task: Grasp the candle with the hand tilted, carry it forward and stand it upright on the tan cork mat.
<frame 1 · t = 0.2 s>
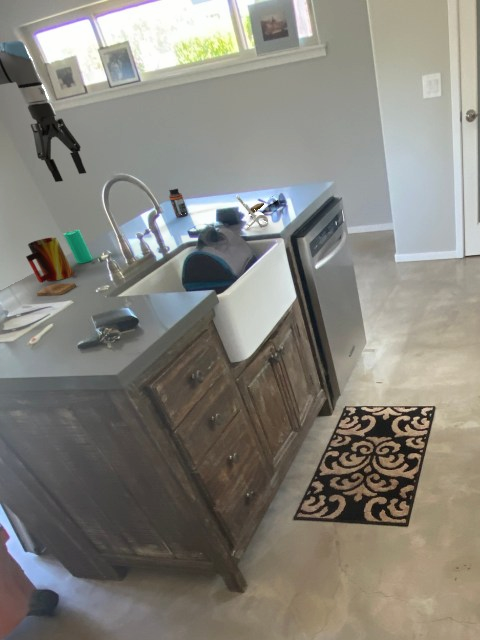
hand: (71, 177, 187), 27 cm above the worktop, tool pointing down, fingers open, 13 cm apart
mug: (59, 278, 190), on the worktop
plastic part: (256, 226, 215), on the worktop
supplement bottle: (182, 216, 249), on the worktop
cork mat: (57, 290, 178), on the worktop
tap handle: (265, 209, 238), on the worktop
candle: (85, 261, 205), on the worktop
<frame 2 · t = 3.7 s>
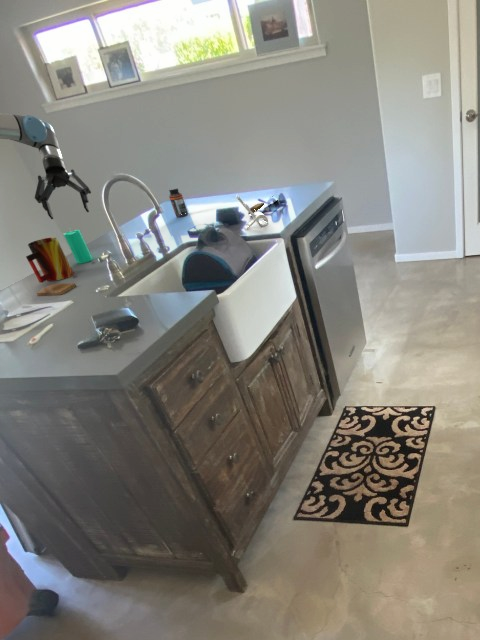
hand: (68, 213, 202), 15 cm above the worktop, tool tilted 45°, fingers open, 13 cm apart
nothing on the worktop moved.
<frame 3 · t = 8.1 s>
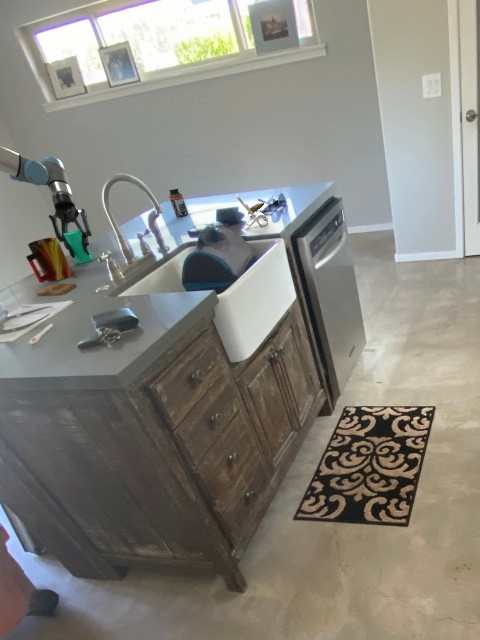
hand: (79, 254, 200), 3 cm above the worktop, tool tilted 45°, fingers closed on candle, 5 cm apart
candle: (85, 261, 205), on the worktop, touching gripper
everything else where it was.
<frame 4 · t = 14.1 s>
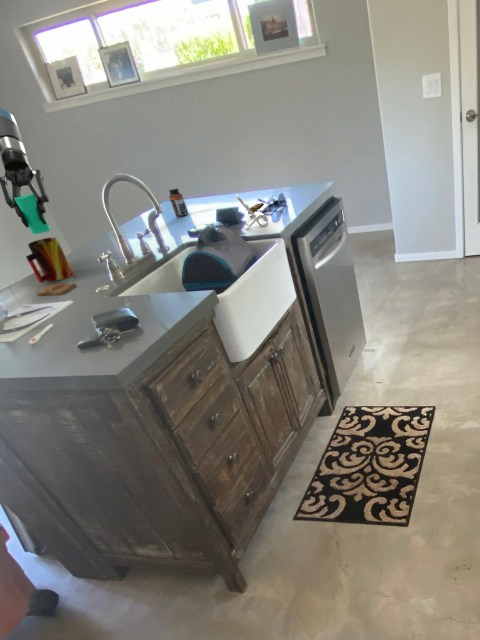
hand: (34, 222, 170), 20 cm above the worktop, tool tilted 45°, fingers closed on candle, 5 cm apart
candle: (42, 232, 175), point 16 cm above the worktop, touching gripper
everything else where it was.
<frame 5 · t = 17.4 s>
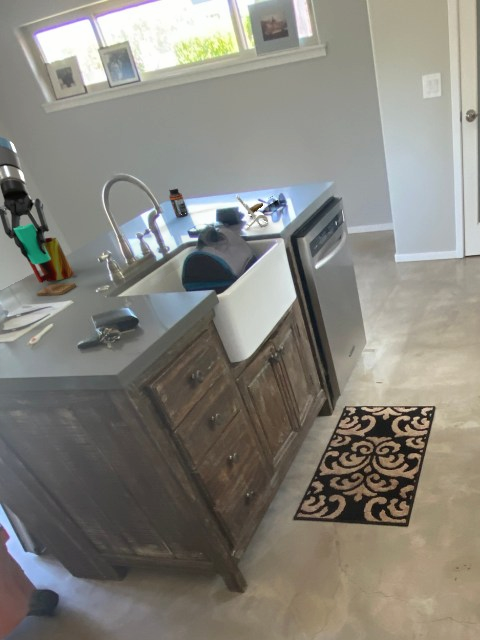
hand: (34, 253, 166), 13 cm above the worktop, tool tilted 45°, fingers closed on candle, 5 cm apart
candle: (41, 261, 172), point 10 cm above the worktop, touching gripper
everything else where it was.
when the fingers open (4 cm above the worktop, at t = 20.1 s): candle stays where it is, resting on cork mat.
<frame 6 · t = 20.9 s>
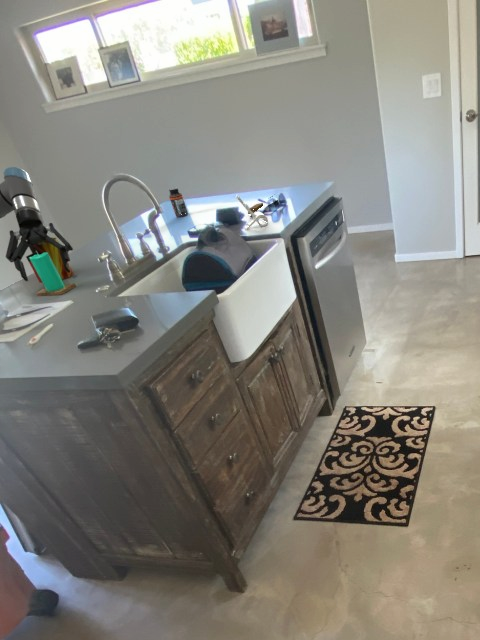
hand: (46, 274, 172), 6 cm above the worktop, tool tilted 45°, fingers open, 13 cm apart
candle: (56, 288, 177), point 1 cm above the worktop, touching cork mat
everything else where it was.
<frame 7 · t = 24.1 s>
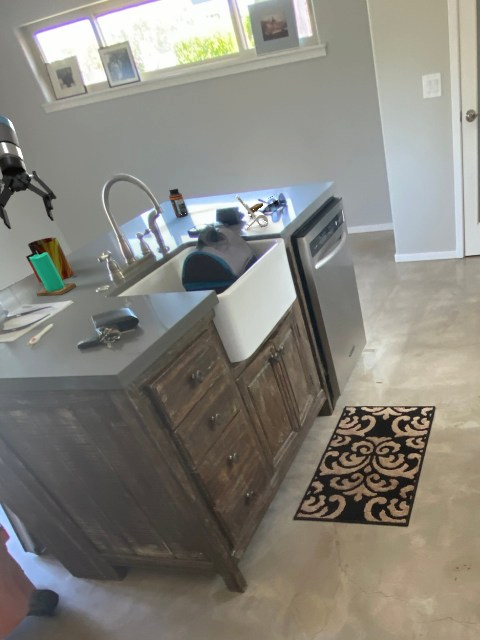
hand: (29, 222, 172), 20 cm above the worktop, tool tilted 45°, fingers open, 13 cm apart
nothing on the worktop moved.
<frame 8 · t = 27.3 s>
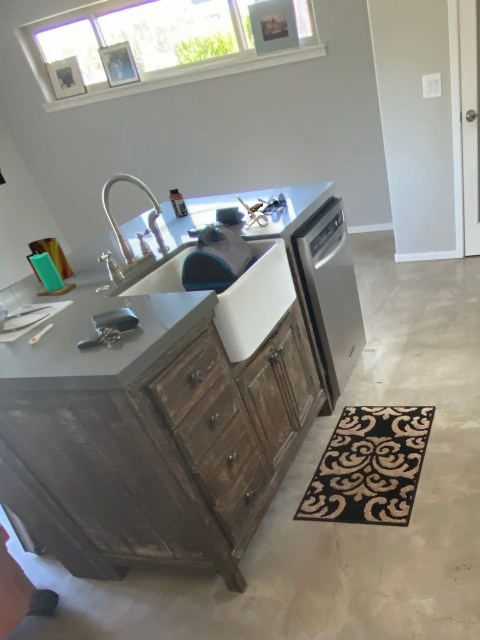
nothing on the worktop moved.
at the end: candle inside the target area on the cork mat (0.0 cm from its centre), point 0.8 cm above the cork mat's base; candle tilted 0°; the gripper is holding nothing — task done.
